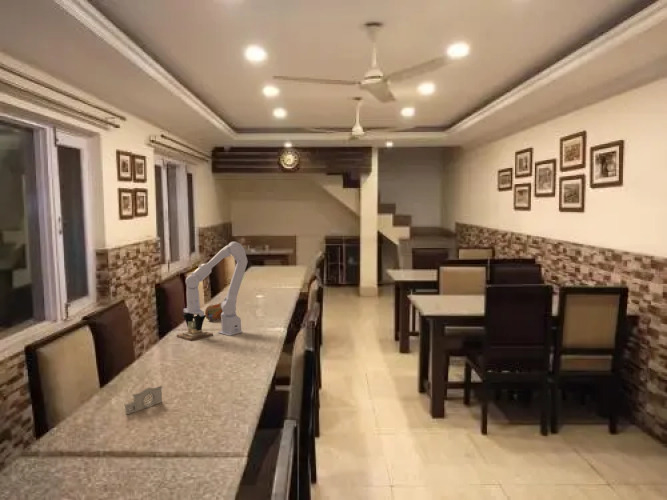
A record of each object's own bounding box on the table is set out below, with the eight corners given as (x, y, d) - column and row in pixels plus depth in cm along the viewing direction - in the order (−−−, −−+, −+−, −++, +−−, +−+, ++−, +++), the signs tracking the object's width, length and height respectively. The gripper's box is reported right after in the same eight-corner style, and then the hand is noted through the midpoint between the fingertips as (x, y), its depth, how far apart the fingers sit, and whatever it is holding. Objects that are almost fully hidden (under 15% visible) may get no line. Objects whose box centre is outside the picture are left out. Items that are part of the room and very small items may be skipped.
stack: (201, 333, 235) (201, 321, 235) (193, 335, 232) (192, 323, 231) (196, 332, 238) (196, 320, 238) (188, 334, 235) (187, 321, 234)
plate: (213, 335, 235) (212, 331, 235) (190, 341, 227) (190, 337, 226) (198, 331, 244) (198, 328, 243) (176, 336, 235) (176, 333, 234)
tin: (208, 322, 264) (207, 306, 263) (204, 321, 265) (203, 306, 265) (230, 316, 275) (229, 301, 275) (226, 316, 277) (225, 301, 277)
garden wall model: (127, 415, 146) (125, 395, 146) (124, 414, 148) (122, 394, 147) (163, 402, 156) (162, 384, 155) (160, 401, 157) (159, 382, 156)
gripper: (177, 300, 235) (178, 328, 237) (194, 303, 226) (195, 333, 227) (190, 298, 241) (191, 325, 242) (207, 301, 231) (208, 330, 232)
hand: (194, 329), depth 235 cm, fingers open, 7 cm apart
